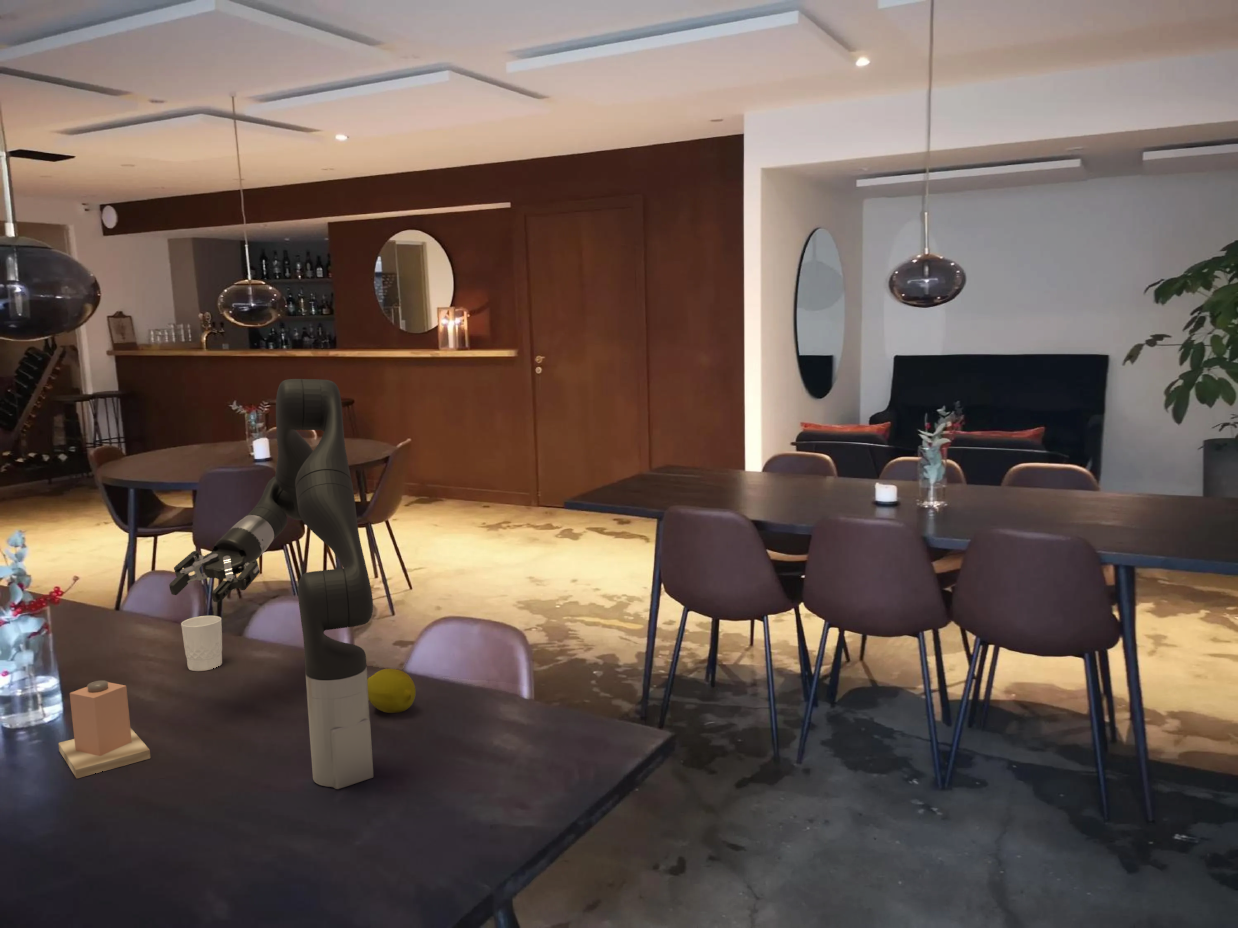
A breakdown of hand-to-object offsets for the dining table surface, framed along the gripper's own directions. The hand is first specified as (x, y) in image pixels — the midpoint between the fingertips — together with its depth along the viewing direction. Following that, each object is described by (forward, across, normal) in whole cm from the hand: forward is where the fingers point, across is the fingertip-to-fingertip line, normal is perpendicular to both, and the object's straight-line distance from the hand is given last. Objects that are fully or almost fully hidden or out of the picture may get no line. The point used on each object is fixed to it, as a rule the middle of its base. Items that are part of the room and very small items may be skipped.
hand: (193, 594), depth 172 cm
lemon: (-4, +33, +24) cm, 41 cm away
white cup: (-16, -18, +36) cm, 43 cm away
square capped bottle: (+22, -7, +17) cm, 28 cm away
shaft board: (+22, -6, +18) cm, 30 cm away
